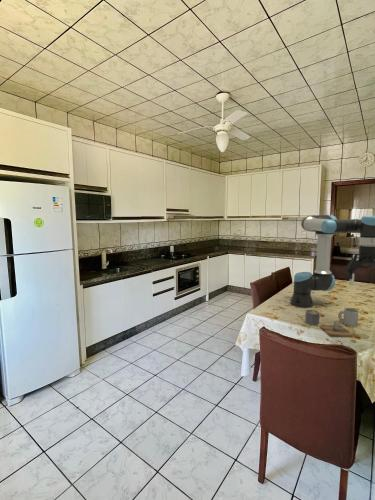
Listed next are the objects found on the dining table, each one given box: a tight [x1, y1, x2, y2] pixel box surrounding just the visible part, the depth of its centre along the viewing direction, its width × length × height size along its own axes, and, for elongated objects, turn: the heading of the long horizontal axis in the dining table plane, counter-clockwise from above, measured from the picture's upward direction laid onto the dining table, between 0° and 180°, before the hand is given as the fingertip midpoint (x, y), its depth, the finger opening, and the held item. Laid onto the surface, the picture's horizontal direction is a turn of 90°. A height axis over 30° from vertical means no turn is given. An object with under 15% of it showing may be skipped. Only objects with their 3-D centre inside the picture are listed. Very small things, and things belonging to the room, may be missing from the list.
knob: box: [304, 309, 320, 327], centre depth 156 cm, size 7×7×8 cm
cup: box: [337, 307, 359, 328], centre depth 154 cm, size 7×10×9 cm
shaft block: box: [319, 319, 354, 338], centre depth 144 cm, size 12×12×6 cm
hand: (364, 285), depth 137 cm, fingers open, 13 cm apart
